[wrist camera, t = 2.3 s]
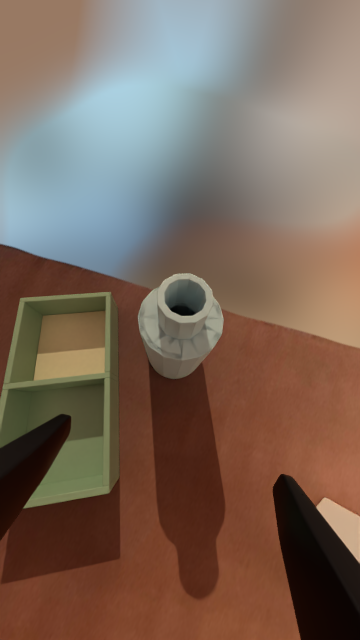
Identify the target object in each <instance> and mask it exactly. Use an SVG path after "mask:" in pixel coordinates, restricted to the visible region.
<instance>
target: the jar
mask: <svg viewBox="0 0 360 640" xmlns="http://www.w3.org/2000/svg"><path fill="white" fill-rule="evenodd" d="M316 508H317V509H318V511H319V512H320V513H321V514H322V516H323V517H324V518H325V520H326V521H327V522H328V523H329V525H330V526H331V527H332V529H333V530H334V531H335V532H336V534H337V535H338V536H339V537H340V539H341V540H342V541H343V543H344V544H345V545H346V546H347V548H348V549H349V550H350V552H351V553H352V554H353V555H354V557H355V558H356V559H357V561H358V562H359V563H360V515H359V514H357V513H355V512H353V511H351V510H349V509H347V508H345V507H343V506H341V505H339V504H338V503H336V502H334V501H332V500H330V499H328V498H323V499H322V500H321V502H320V503H319V504H318V505H317V507H316Z"/></svg>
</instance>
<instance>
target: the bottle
mask: <svg viewBox="0 0 360 640" xmlns="http://www.w3.org/2000/svg"><path fill="white" fill-rule="evenodd" d="M223 321H224V319H223V315H222V312H221V308H220V306H219V303H218V302H217V301H216V300H215V298H214V297H213V294H212V290H211V288H210V287H209V286H208V285H207V283H206V282H205V281H204V280H203V279H201V278H199V277H197V276H195V275H192V274H175V275H173V276H171V277H169V278H167V279H165V280H164V281H163V282H162V284H161V286H160V287H158V288H156V289H154V290H152V291H151V292H150V294H149V295H148V296H147V297H146V298H145V299H144V301H143V302H142V304H141V308H140V311H139V314H138V323H139V330H140V334H141V337H142V340H143V343H144V347H145V350H146V353H147V356H148V359H149V362H150V363H151V365H152V367H153V368H154V370H155V371H156V372H157V373H159V374H160V375H162V376H164V377H166V378H171V379H179V378H183V377H186V376H187V375H189V374H191V373H192V372H193V371H194V370H195V369H196V368H197V367H198V366H199V365H200V363H201V362H202V361H203V360H204V359H205V357H206V356H207V355H208V354H209V353H210V351H211V350H212V349H213V348H214V346H215V345H216V343H217V341H218V340H219V338H220V337H221V335H222V329H223Z"/></svg>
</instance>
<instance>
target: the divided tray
mask: <svg viewBox="0 0 360 640" xmlns="http://www.w3.org/2000/svg"><path fill="white" fill-rule="evenodd" d="M59 414H67V415H70V416H71V431H70V434H69V436H68V438H67V439H66V441H65V443H64V445H63V446H62V448H61V450H60V452H59V453H58V455H57V457H56V459H55V460H54V462H53V464H52V465H51V467H50V469H49V471H48V472H47V474H46V476H45V477H44V479H43V480H42V482H41V483H40V484H39V486H38V487H37V489H36V490H35V492H34V493H33V494H32V496H31V497H30V499H29V500H28V502H27V503H26V505H25V506H24V507H23V509H25V508H31V507H36V506H42V505H47V504H53V503H59V502H64V501H70V500H75V499H81V498H87V497H92V496H98V495H103V494H109V493H110V491H111V490H112V488H113V486H114V485H115V483H116V482H117V480H118V478H119V477H120V476H119V368H118V307H117V305H116V303H115V301H114V299H113V296H112V294H111V292H103V293H88V294H74V295H59V296H45V297H30V298H20V303H19V308H18V313H17V318H16V323H15V328H14V333H13V338H12V343H11V348H10V353H9V358H8V363H7V368H6V373H5V378H4V384H3V388H2V393H1V399H0V448H1V447H3V446H4V445H6V444H8V443H10V442H11V441H13V440H15V439H17V438H19V437H20V436H22V435H24V434H26V433H27V432H29V431H31V430H33V429H35V428H36V427H38V426H40V425H42V424H43V423H45V422H47V421H49V420H50V419H52V418H54V417H56V416H58V415H59Z"/></svg>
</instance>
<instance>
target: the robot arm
mask: <svg viewBox="0 0 360 640" xmlns="http://www.w3.org/2000/svg"><path fill="white" fill-rule="evenodd" d="M70 431H71V416H70V415H67V414H59V415H58V416H56V417H54V418H52V419H50V420H49V421H47V422H45V423H43V424H42V425H40V426H38V427H36V428H35V429H33V430H31V431H29V432H27V433H26V434H24V435H22V436H20V437H19V438H17V439H15V440H13V441H11V442H10V443H8V444H6V445H4V446H3V447H1V448H0V540H1V539H2V538H3V536H4V535H5V533H6V532H7V530H8V529H9V527H10V526H11V525H12V523H13V522H14V520H15V519H16V517H17V516H18V515H19V513H20V512H21V510H22V509H23V507H24V506H25V505H26V503H27V502H28V500H29V499H30V497H31V496H32V494H33V493H34V492H35V490H36V489H37V487H38V486H39V484H40V483H41V482H42V480H43V479H44V477H45V476H46V474H47V472H48V471H49V469H50V467H51V465H52V464H53V462H54V460H55V459H56V457H57V455H58V453H59V452H60V450H61V448H62V446H63V445H64V443H65V441H66V439H67V438H68V436H69V434H70ZM273 497H274V505H275V512H276V519H277V527H278V534H279V540H280V546H281V551H282V555H283V560H284V564H285V569H286V573H287V578H288V583H289V587H290V592H291V596H292V601H293V606H294V610H295V615H296V619H297V624H298V628H299V633H300V638H301V640H360V563H359V562H358V561H357V559H356V558H355V557H354V555H353V554H352V553H351V552H350V550H349V549H348V548H347V546H346V545H345V544H344V543H343V541H342V540H341V539H340V537H339V536H338V535H337V534H336V532H335V531H334V530H333V529H332V527H331V526H330V525H329V523H328V522H327V521H326V520H325V518H324V517H323V516H322V514H321V513H320V512H319V511H318V509H317V508H316V507H315V505H314V504H313V503H312V502H311V500H310V499H309V498H308V496H307V495H306V494H305V493H304V491H303V490H302V489H301V487H300V486H299V485H298V484H297V482H296V481H295V480H294V479H293V478H292V477H291V476H289V475H285V474H281V475H280V476H279V477H278V479H277V481H276V483H275V484H274V486H273Z"/></svg>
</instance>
